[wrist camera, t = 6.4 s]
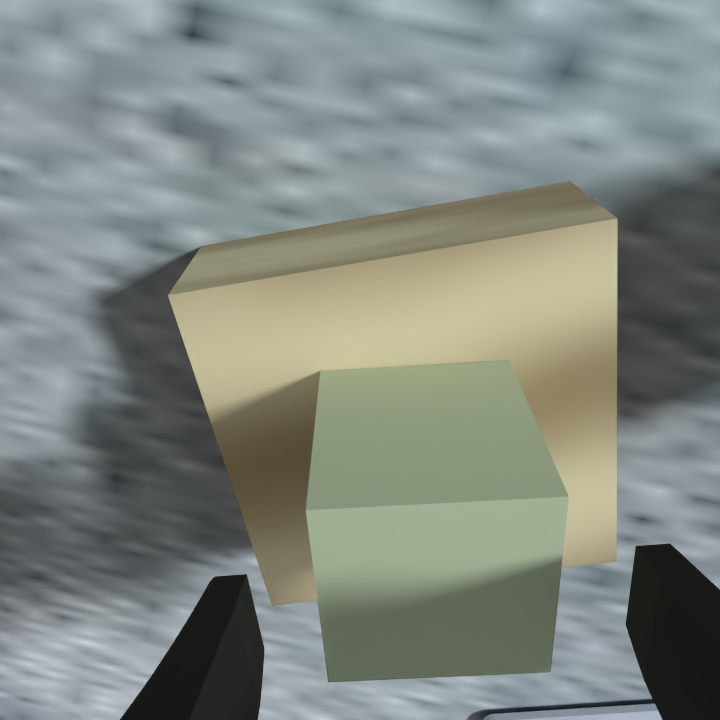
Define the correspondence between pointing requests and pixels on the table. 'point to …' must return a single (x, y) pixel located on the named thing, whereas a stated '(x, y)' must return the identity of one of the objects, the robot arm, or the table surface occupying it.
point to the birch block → (408, 344)
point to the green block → (433, 524)
